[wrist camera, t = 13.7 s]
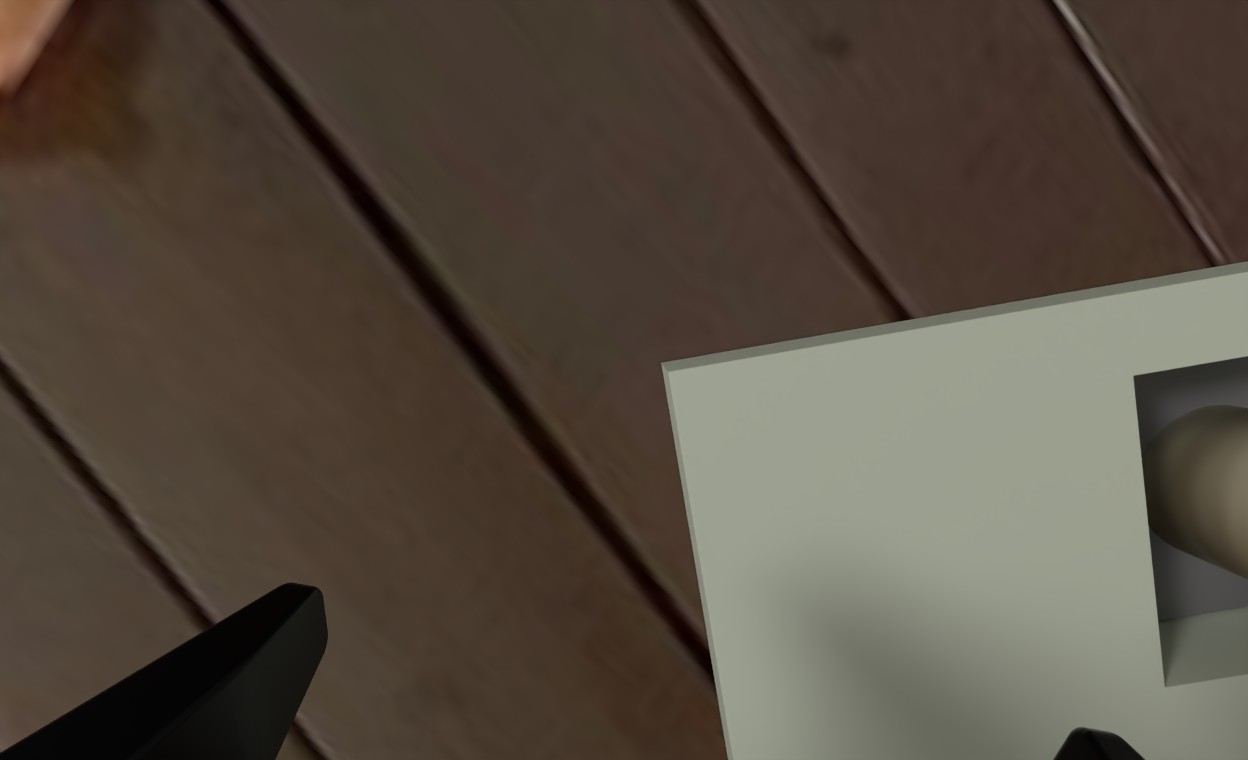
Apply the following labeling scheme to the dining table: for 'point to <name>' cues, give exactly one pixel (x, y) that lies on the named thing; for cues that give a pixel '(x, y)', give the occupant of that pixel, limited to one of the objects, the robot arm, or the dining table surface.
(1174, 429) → the long pin
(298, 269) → the dining table surface
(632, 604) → the dining table surface
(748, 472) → the pin board
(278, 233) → the dining table surface
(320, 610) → the robot arm
